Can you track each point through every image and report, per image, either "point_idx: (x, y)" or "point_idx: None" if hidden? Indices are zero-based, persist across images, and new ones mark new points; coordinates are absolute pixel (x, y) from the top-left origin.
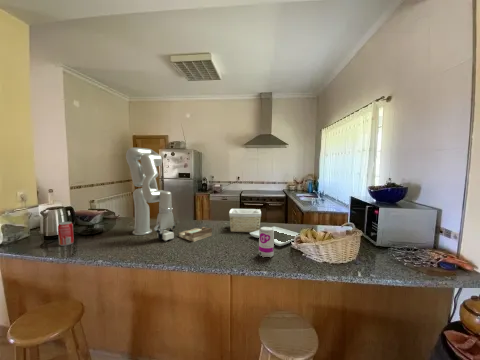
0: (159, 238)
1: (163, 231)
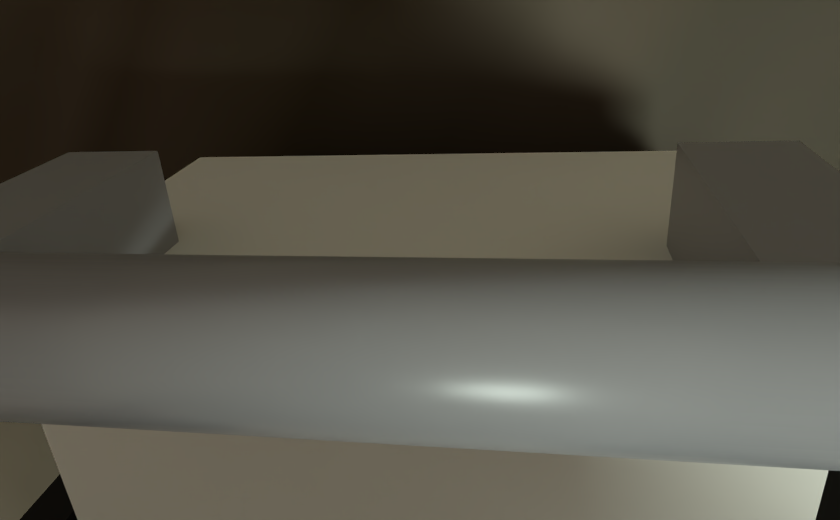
0: None
1: (430, 503)
